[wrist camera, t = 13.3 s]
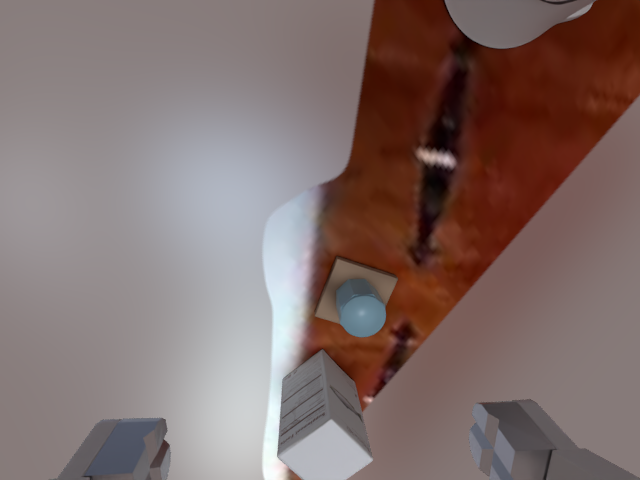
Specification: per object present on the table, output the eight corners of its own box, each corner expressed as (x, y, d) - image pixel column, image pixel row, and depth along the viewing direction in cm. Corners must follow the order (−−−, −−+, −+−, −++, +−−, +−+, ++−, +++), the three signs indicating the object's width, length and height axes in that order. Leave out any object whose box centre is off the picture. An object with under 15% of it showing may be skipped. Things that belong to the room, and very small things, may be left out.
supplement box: (356, 381, 48) (376, 462, 36) (314, 411, 49) (320, 499, 37) (323, 346, 46) (332, 418, 34) (280, 377, 47) (274, 459, 35)
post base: (336, 255, 43) (340, 268, 39) (395, 275, 44) (405, 289, 40) (314, 311, 45) (316, 330, 40) (371, 328, 46) (379, 348, 42)
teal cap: (336, 279, 42) (341, 296, 38) (377, 278, 43) (387, 295, 38) (335, 316, 44) (340, 337, 39) (375, 315, 44) (384, 336, 39)
